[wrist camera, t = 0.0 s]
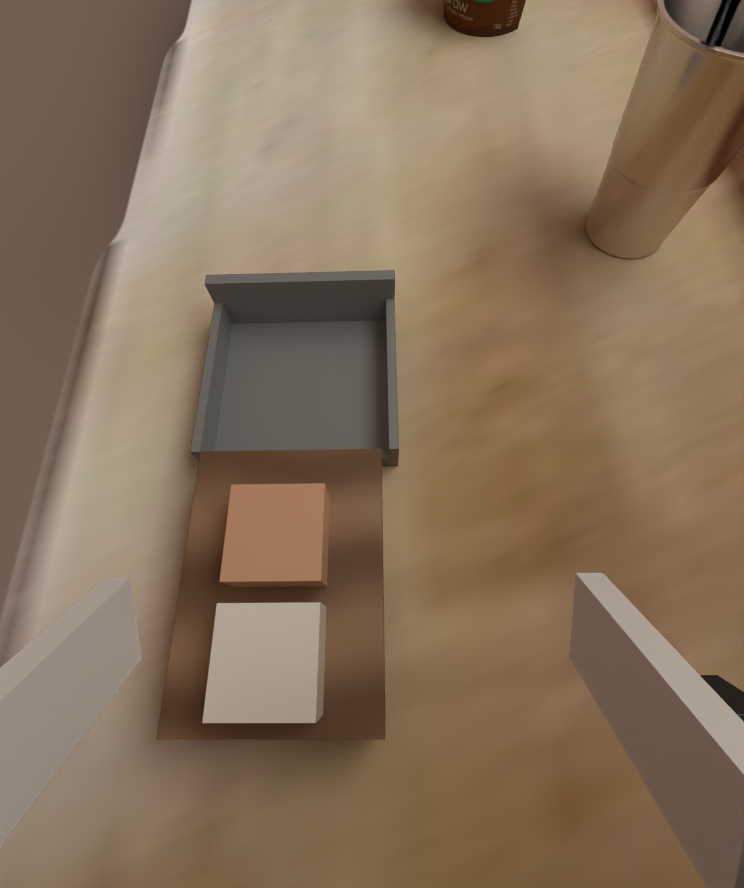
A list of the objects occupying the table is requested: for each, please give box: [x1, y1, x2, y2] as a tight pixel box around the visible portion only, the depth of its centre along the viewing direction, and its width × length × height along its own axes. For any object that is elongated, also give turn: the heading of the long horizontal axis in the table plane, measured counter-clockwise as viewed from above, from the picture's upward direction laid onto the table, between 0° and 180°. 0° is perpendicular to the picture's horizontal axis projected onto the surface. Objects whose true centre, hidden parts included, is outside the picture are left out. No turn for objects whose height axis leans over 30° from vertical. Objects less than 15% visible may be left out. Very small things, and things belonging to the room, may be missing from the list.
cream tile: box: [202, 602, 326, 723], centre depth 23 cm, size 5×5×2 cm
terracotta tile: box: [219, 483, 330, 588], centre depth 25 cm, size 5×5×2 cm
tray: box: [190, 270, 399, 466], centre depth 32 cm, size 13×13×5 cm
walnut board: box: [157, 449, 385, 739], centre depth 27 cm, size 15×11×4 cm
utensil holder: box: [586, 0, 744, 259], centre depth 26 cm, size 11×11×30 cm
